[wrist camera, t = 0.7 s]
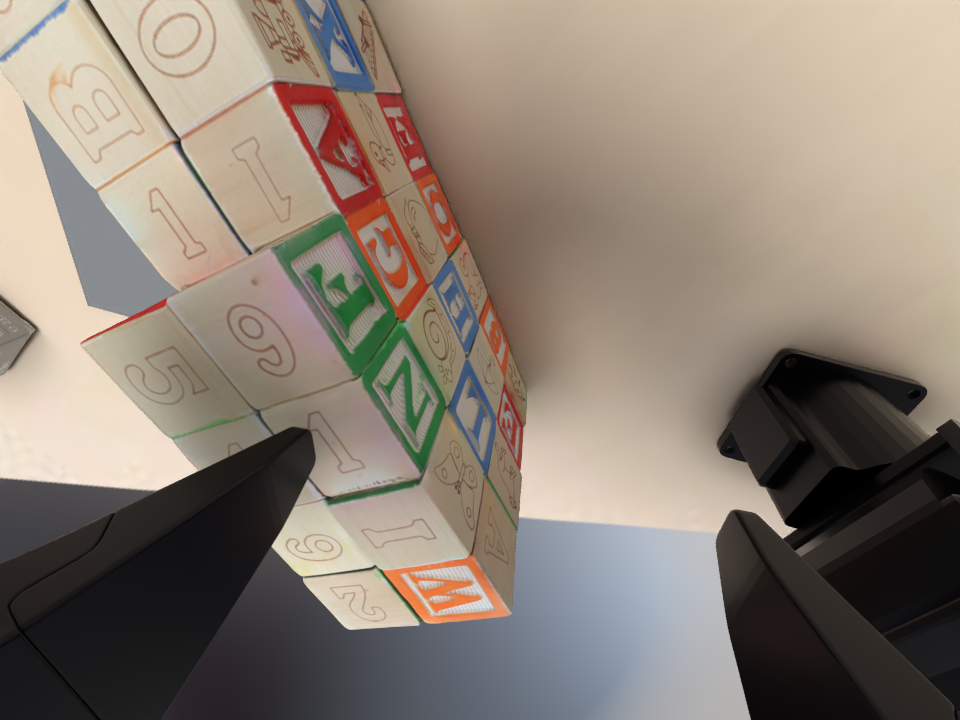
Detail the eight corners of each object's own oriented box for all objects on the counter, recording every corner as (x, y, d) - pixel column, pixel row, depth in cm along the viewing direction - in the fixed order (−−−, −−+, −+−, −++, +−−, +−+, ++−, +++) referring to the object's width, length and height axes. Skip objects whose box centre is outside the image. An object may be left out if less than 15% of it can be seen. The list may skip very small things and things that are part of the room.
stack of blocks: (192, -7, 16) (-458, -217, 6) (322, -106, 14) (-307, -692, 4) (431, 419, 25) (344, 639, 15) (531, 394, 23) (513, 628, 13)
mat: (311, 24, 16) (307, 23, 16) (314, 363, 25) (311, 366, 25) (-18, -54, 17) (-27, -57, 17) (92, 303, 25) (87, 305, 25)
